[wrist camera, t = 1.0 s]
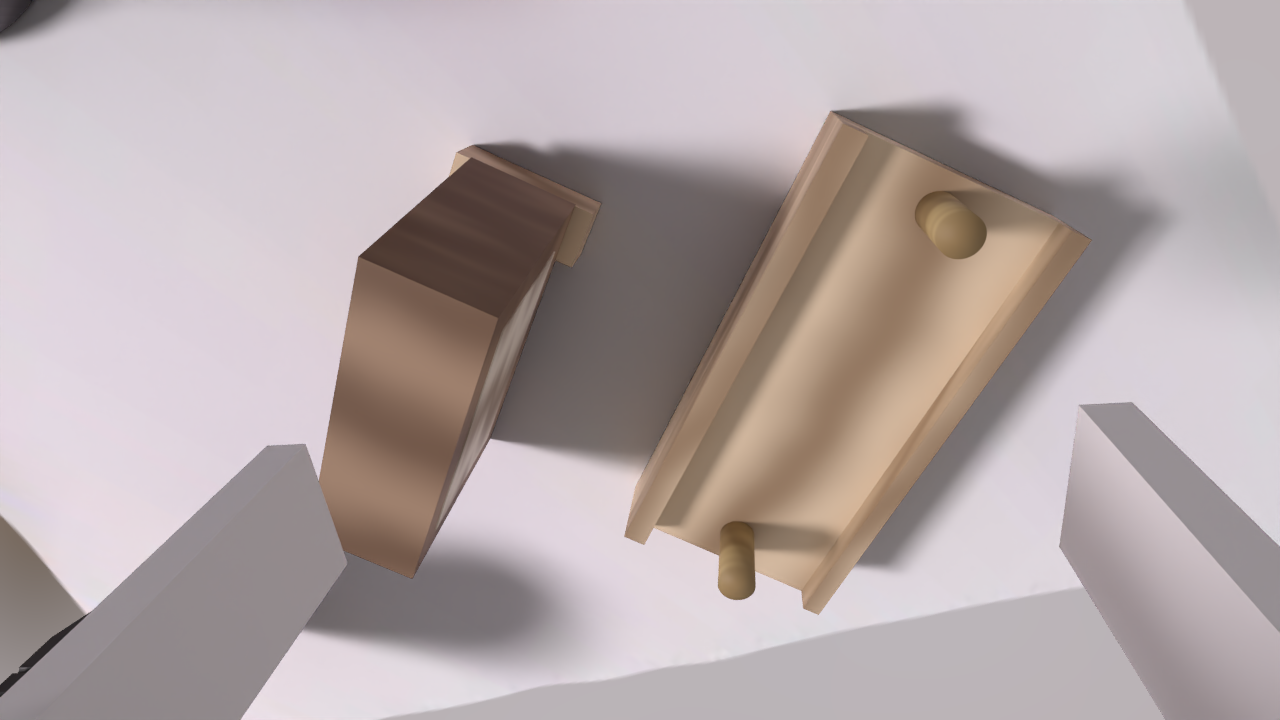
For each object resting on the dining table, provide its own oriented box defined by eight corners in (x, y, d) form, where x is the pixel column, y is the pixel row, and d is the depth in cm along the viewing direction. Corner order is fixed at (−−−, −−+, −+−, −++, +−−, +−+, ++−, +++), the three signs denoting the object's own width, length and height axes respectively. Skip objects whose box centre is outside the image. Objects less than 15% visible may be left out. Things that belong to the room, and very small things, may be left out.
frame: (490, 439, 38) (413, 579, 31) (407, 403, 38) (309, 536, 30) (576, 205, 30) (499, 318, 22) (471, 157, 30) (358, 256, 22)
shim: (455, 198, 33) (439, 208, 31) (472, 145, 32) (456, 152, 30) (580, 254, 33) (571, 267, 31) (601, 203, 32) (593, 214, 30)
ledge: (635, 487, 38) (617, 565, 33) (830, 111, 30) (851, 131, 24) (811, 563, 39) (823, 651, 33) (1052, 215, 30) (1121, 258, 25)
